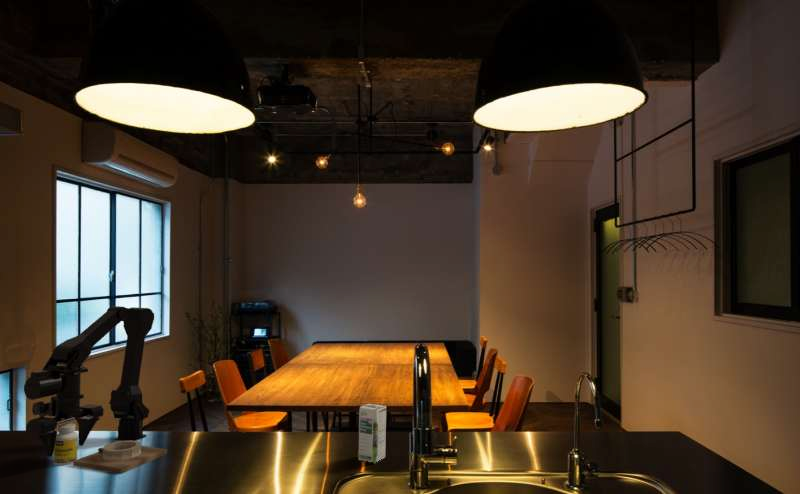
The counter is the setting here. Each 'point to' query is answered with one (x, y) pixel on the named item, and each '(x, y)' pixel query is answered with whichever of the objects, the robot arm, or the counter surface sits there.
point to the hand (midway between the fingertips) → (65, 450)
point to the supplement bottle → (65, 445)
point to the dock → (119, 464)
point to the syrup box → (372, 432)
